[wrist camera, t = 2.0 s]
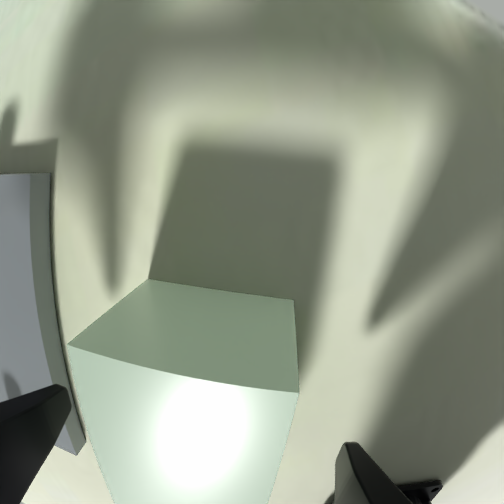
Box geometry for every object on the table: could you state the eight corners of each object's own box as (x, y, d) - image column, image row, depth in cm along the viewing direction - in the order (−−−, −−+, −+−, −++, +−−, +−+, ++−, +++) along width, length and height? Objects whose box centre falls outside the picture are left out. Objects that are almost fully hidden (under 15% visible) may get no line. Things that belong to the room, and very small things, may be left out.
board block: (293, 298, 10) (299, 393, 6) (266, 442, 12) (256, 536, 7) (149, 277, 11) (66, 344, 6) (155, 421, 12) (114, 503, 8)
